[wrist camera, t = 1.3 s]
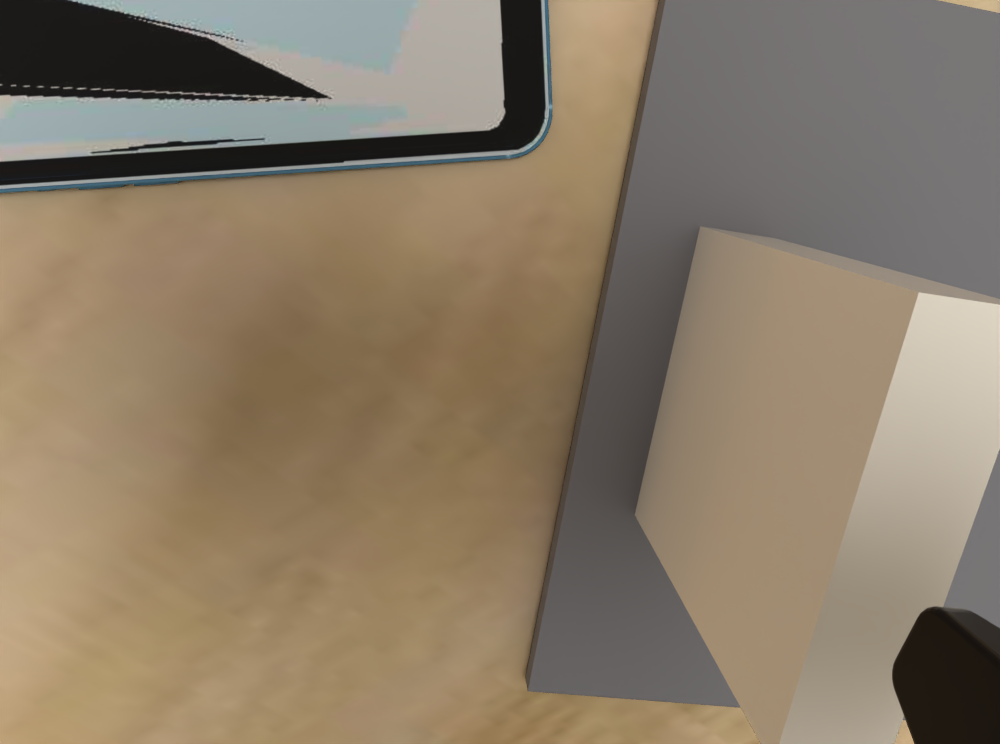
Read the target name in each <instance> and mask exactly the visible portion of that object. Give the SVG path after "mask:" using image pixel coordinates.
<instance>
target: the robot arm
mask: <svg viewBox="0 0 1000 744" xmlns="http://www.w3.org/2000/svg"><path fill="white" fill-rule="evenodd" d="M892 682H893V687H894V690H895V693H896V696H897V698H898V701H899V704H900V706H901V709H902V712H903V714H904V717H905V720H906V722H907V725H908V728H909V730H910V733H911V736H912V738H913V741H914V744H1000V628H999V627H997V626H996V625H994V624H992V623H991V622H989V621H987V620H986V619H984V618H982V617H981V616H979V615H978V614H976V613H974V612H972V611H969V610H966V609H961V608H951V607H939V606H933V607H928V608H926V609H925V610H924V611H922V612H921V613H920V614H919V616H918V617H917V619H916V621H915V623H914V625H913V627H912V629H911V631H910V632H909V634H908V636H907V638H906V640H905V642H904V644H903V646H902V648H901V649H900V651H899V653H898V655H897V657H896V659H895V661H894V664H893V668H892Z"/></svg>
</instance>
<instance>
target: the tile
mask: <svg viewBox="0 0 1000 744" xmlns="http://www.w3.org/2000/svg"><path fill="white" fill-rule="evenodd" d="M999 450H1000V299H998V298H994V297H990V296H987V295H983V294H979V293H976V292H972V291H968V290H965V289H961V288H957V287H953V286H950V285H946V284H942V283H939V282H935V281H931V280H928V279H924V278H920V277H917V276H913V275H909V274H906V273H902V272H898V271H894V270H891V269H887V268H883V267H880V266H876V265H872V264H869V263H865V262H861V261H858V260H854V259H850V258H846V257H843V256H839V255H835V254H832V253H828V252H824V251H821V250H817V249H813V248H810V247H806V246H802V245H799V244H795V243H791V242H787V241H784V240H780V239H776V238H771V237H765V236H758V235H752V234H746V233H740V232H733V231H727V230H721V229H714V228H708V227H702V226H700V229H699V234H698V238H697V243H696V247H695V251H694V256H693V260H692V265H691V269H690V273H689V278H688V282H687V287H686V291H685V295H684V300H683V304H682V309H681V313H680V317H679V322H678V326H677V331H676V335H675V339H674V344H673V348H672V353H671V357H670V361H669V366H668V370H667V375H666V379H665V384H664V388H663V392H662V397H661V401H660V406H659V410H658V414H657V419H656V423H655V428H654V432H653V436H652V441H651V445H650V450H649V454H648V458H647V463H646V467H645V472H644V476H643V480H642V485H641V489H640V494H639V498H638V503H637V507H636V511H635V516H636V518H637V520H638V522H639V524H640V526H641V527H642V529H643V531H644V533H645V535H646V536H647V538H648V540H649V542H650V544H651V546H652V547H653V549H654V551H655V553H656V555H657V556H658V558H659V560H660V562H661V564H662V566H663V567H664V569H665V571H666V573H667V575H668V576H669V578H670V580H671V582H672V584H673V586H674V587H675V589H676V591H677V593H678V595H679V596H680V598H681V600H682V602H683V604H684V605H685V607H686V609H687V611H688V613H689V615H690V616H691V618H692V620H693V622H694V624H695V625H696V627H697V629H698V631H699V633H700V635H701V636H702V638H703V640H704V642H705V644H706V645H707V647H708V649H709V651H710V653H711V655H712V656H713V658H714V660H715V662H716V664H717V665H718V667H719V669H720V671H721V673H722V675H723V676H724V678H725V680H726V682H727V684H728V685H729V687H730V689H731V691H732V693H733V694H734V696H735V698H736V700H737V702H738V704H739V705H740V707H741V709H742V711H743V713H744V714H745V716H746V718H747V720H748V722H749V724H750V725H751V727H752V729H753V731H754V733H755V734H756V736H757V738H758V740H759V742H760V744H894V742H895V740H896V737H897V734H898V731H899V728H900V726H901V723H902V720H903V717H904V714H903V712H902V709H901V706H900V704H899V701H898V698H897V696H896V693H895V690H894V687H893V682H892V668H893V664H894V661H895V659H896V657H897V655H898V653H899V651H900V649H901V648H902V646H903V644H904V642H905V640H906V638H907V636H908V634H909V632H910V631H911V629H912V627H913V625H914V623H915V621H916V619H917V617H918V616H919V614H920V613H921V612H922V611H924V610H925V609H926V608H928V607H933V606H939V607H943V606H944V603H945V600H946V597H947V595H948V592H949V589H950V586H951V583H952V581H953V578H954V575H955V572H956V569H957V567H958V564H959V561H960V558H961V556H962V553H963V550H964V547H965V544H966V542H967V539H968V536H969V533H970V530H971V528H972V525H973V522H974V519H975V516H976V514H977V511H978V508H979V505H980V503H981V500H982V497H983V494H984V491H985V489H986V486H987V483H988V480H989V477H990V475H991V472H992V469H993V466H994V463H995V461H996V458H997V455H998V452H999Z"/></svg>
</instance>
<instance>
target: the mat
mask: <svg viewBox="0 0 1000 744" xmlns="http://www.w3.org/2000/svg"><path fill="white" fill-rule="evenodd" d="M700 226H702V227H708V228H714V229H721V230H727V231H733V232H740V233H746V234H752V235H758V236H765V237H771V238H776V239H780V240H784V241H787V242H791V243H795V244H799V245H802V246H806V247H810V248H813V249H817V250H821V251H824V252H828V253H832V254H835V255H839V256H843V257H846V258H850V259H854V260H858V261H861V262H865V263H869V264H872V265H876V266H880V267H883V268H887V269H891V270H894V271H898V272H902V273H906V274H909V275H913V276H917V277H920V278H924V279H928V280H931V281H935V282H939V283H942V284H946V285H950V286H953V287H957V288H961V289H965V290H968V291H972V292H976V293H979V294H983V295H987V296H990V297H994V298H998V299H1000V13H996V12H991V11H986V10H981V9H976V8H972V7H967V6H962V5H957V4H952V3H947V2H943V1H938V0H659V3H658V8H657V13H656V18H655V24H654V29H653V34H652V39H651V44H650V49H649V54H648V59H647V64H646V69H645V74H644V79H643V84H642V89H641V95H640V100H639V105H638V110H637V115H636V120H635V125H634V130H633V135H632V140H631V145H630V150H629V155H628V160H627V166H626V171H625V176H624V181H623V186H622V191H621V196H620V201H619V206H618V211H617V216H616V221H615V226H614V231H613V237H612V242H611V247H610V252H609V257H608V262H607V267H606V272H605V277H604V282H603V287H602V292H601V297H600V302H599V307H598V313H597V318H596V323H595V328H594V333H593V338H592V343H591V348H590V353H589V358H588V363H587V368H586V373H585V378H584V384H583V389H582V394H581V399H580V404H579V409H578V414H577V419H576V424H575V429H574V434H573V439H572V444H571V449H570V455H569V460H568V465H567V470H566V475H565V480H564V485H563V490H562V495H561V500H560V505H559V510H558V515H557V520H556V526H555V531H554V536H553V541H552V546H551V551H550V556H549V561H548V566H547V571H546V576H545V581H544V586H543V591H542V597H541V602H540V607H539V612H538V617H537V622H536V627H535V632H534V637H533V642H532V647H531V652H530V657H529V662H528V668H527V673H526V683H527V689H528V691H532V692H545V693H558V694H571V695H584V696H597V697H610V698H623V699H636V700H649V701H662V702H675V703H688V704H701V705H714V706H727V707H740V705H739V704H738V702H737V700H736V698H735V696H734V694H733V693H732V691H731V689H730V687H729V685H728V684H727V682H726V680H725V678H724V676H723V675H722V673H721V671H720V669H719V667H718V665H717V664H716V662H715V660H714V658H713V656H712V655H711V653H710V651H709V649H708V647H707V645H706V644H705V642H704V640H703V638H702V636H701V635H700V633H699V631H698V629H697V627H696V625H695V624H694V622H693V620H692V618H691V616H690V615H689V613H688V611H687V609H686V607H685V605H684V604H683V602H682V600H681V598H680V596H679V595H678V593H677V591H676V589H675V587H674V586H673V584H672V582H671V580H670V578H669V576H668V575H667V573H666V571H665V569H664V567H663V566H662V564H661V562H660V560H659V558H658V556H657V555H656V553H655V551H654V549H653V547H652V546H651V544H650V542H649V540H648V538H647V536H646V535H645V533H644V531H643V529H642V527H641V526H640V524H639V522H638V520H637V518H636V516H635V511H636V507H637V503H638V498H639V494H640V489H641V485H642V480H643V476H644V472H645V467H646V463H647V458H648V454H649V450H650V445H651V441H652V436H653V432H654V428H655V423H656V419H657V414H658V410H659V406H660V401H661V397H662V392H663V388H664V384H665V379H666V375H667V370H668V366H669V361H670V357H671V353H672V348H673V344H674V339H675V335H676V331H677V326H678V322H679V317H680V313H681V309H682V304H683V300H684V295H685V291H686V287H687V282H688V278H689V273H690V269H691V265H692V260H693V256H694V251H695V247H696V243H697V238H698V234H699V229H700ZM943 607H951V608H961V609H966V610H969V611H972V612H974V613H976V614H978V615H979V616H981V617H982V618H984V619H986V620H987V621H989V622H991V623H992V624H994V625H996V626H997V627H999V628H1000V450H999V452H998V455H997V458H996V461H995V463H994V466H993V469H992V472H991V475H990V477H989V480H988V483H987V486H986V489H985V491H984V494H983V497H982V500H981V503H980V505H979V508H978V511H977V514H976V516H975V519H974V522H973V525H972V528H971V530H970V533H969V536H968V539H967V542H966V544H965V547H964V550H963V553H962V556H961V558H960V561H959V564H958V567H957V569H956V572H955V575H954V578H953V581H952V583H951V586H950V589H949V592H948V595H947V597H946V600H945V603H944V606H943ZM740 708H741V707H740ZM903 720H905V717H903Z"/></svg>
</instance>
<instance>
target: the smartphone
mask: <svg viewBox="0 0 1000 744" xmlns="http://www.w3.org/2000/svg"><path fill="white" fill-rule="evenodd" d="M551 120H552V85H551V60H550V35H549V10H548V0H0V193H7V192H21V191H36V190H37V191H50V190H56V189H66V188H79V190H81V189H96V188H110V187H124V185H125V184H134V186H140V185H155V184H170V183H179V181H184V180H199V179H214V178H229V177H243V176H258V175H273V174H288V173H303V172H317V171H332V170H347V169H362V168H377V167H392V166H406V165H421V164H436V163H451V162H466V161H480V160H495V159H510V158H517V157H520V156H523V155H526V154H528V153H529V152H531V151H533V150H534V149H535V148H536V147H538V146H539V144H540V143H541V142H542V141H543V140H544V138H545V136H546V135H547V133H548V130H549V128H550V125H551Z"/></svg>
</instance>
